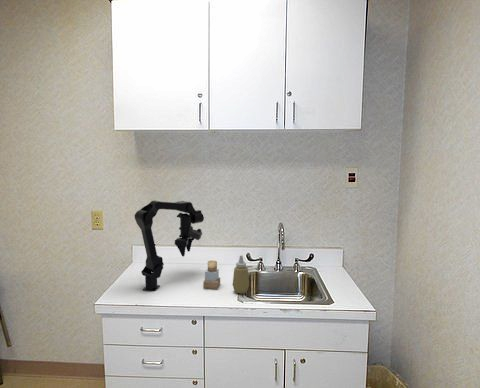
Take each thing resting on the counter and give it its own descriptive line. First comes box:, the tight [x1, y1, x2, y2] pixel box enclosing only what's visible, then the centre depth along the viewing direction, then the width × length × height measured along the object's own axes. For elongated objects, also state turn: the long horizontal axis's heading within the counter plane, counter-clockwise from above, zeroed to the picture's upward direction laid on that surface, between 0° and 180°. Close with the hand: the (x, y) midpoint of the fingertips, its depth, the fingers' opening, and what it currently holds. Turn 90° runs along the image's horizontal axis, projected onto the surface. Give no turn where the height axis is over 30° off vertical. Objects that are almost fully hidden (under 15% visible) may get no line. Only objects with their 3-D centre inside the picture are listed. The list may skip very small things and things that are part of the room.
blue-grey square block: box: [204, 268, 220, 282], centre depth 182 cm, size 6×6×4 cm
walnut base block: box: [202, 277, 221, 291], centre depth 182 cm, size 7×7×4 cm
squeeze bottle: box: [232, 255, 250, 295], centre depth 175 cm, size 8×8×18 cm
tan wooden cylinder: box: [207, 260, 218, 272], centre depth 181 cm, size 5×5×4 cm
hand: (186, 253), depth 193 cm, fingers open, 9 cm apart
